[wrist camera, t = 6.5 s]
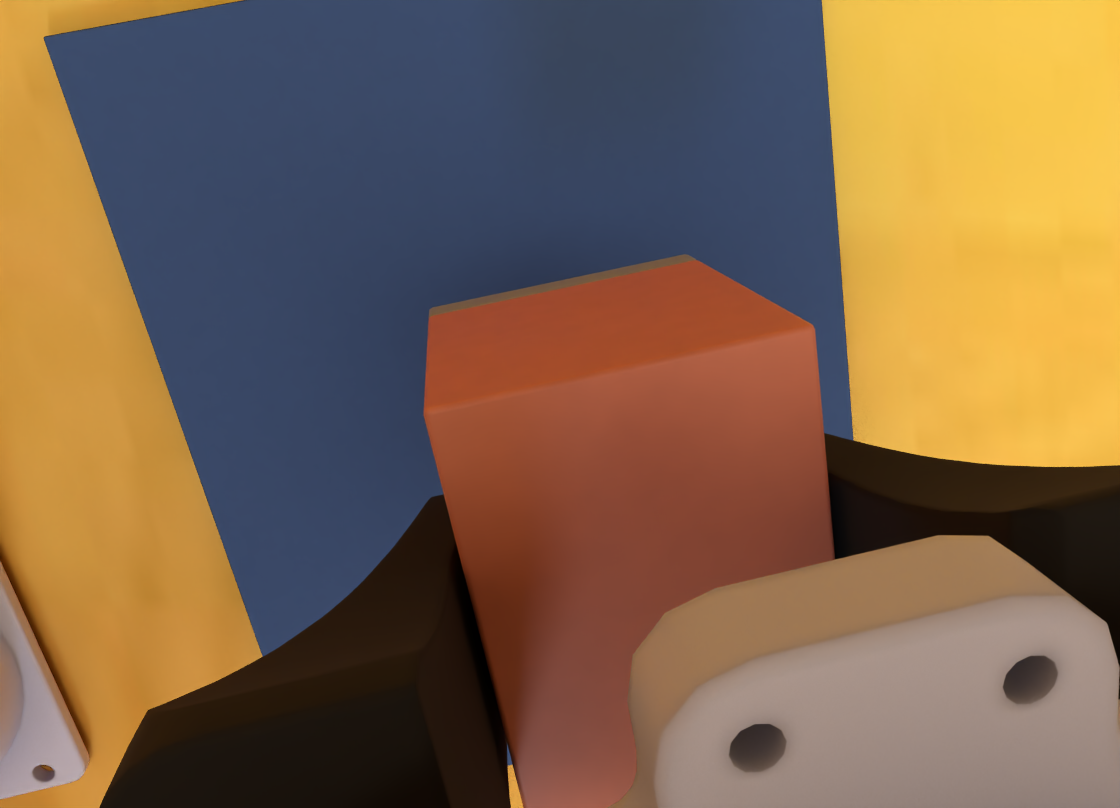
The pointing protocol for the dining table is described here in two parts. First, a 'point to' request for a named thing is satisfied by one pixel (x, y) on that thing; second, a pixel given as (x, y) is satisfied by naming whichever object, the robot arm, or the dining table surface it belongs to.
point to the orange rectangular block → (615, 486)
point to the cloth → (425, 220)
